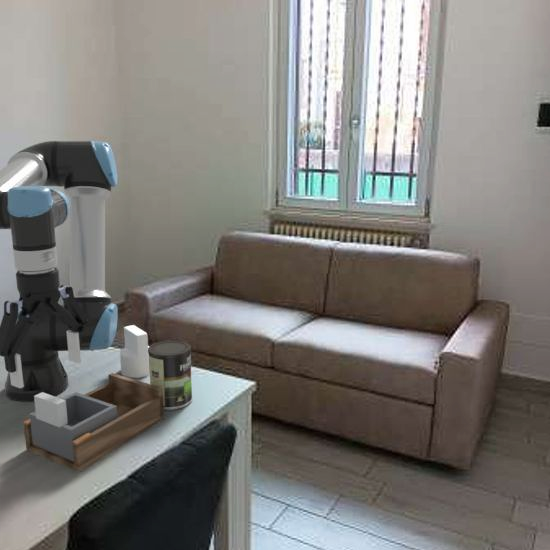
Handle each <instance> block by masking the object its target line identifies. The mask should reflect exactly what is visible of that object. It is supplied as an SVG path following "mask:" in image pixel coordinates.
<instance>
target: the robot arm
mask: <svg viewBox="0 0 550 550" xmlns="http://www.w3.org/2000/svg"><path fill="white" fill-rule="evenodd" d="M117 171H118V170H117V164H116V160H115V156H114V152H113V150H112V147H111V146H110V144H108V142H105V141H95V140H89V141H88V140H86V141H85V140H83V141H82V140H79V141H76V140H75V141H74V140H71V141H69V140H67V141H64V140H62V141H59V140H58V141H57V140H51V141H42V142H39V143H36V144H33V145H30V146H28V147H25V148H23V149H22V150H19V151H18V152H16V153H15V154H13V155H12V156H11V157H10V158H9V159H8V161H7V165H6V166H5V167H3V168H2V169H1V170H0V230H10V232H11V233H10V234H11V241H12V251H13V252H12V253H13V263H14V269H15V270H16V273H15V278H16V287H17V288H16V289H17V292H18V294H19V299H18V300H15V301H10V300H5V301H4V303H3V316H2V320H1V322H0V357H3V360H4V366H5V371H6V372H7V376H6V381H5V384H4V390H5V395H6V396H7V398H8V399H11V400H13V401H20V402H32V401H33V402H35V401H34V396H35V395H37V394H39V393H42V392H43V393H46V394H49V395H52V396H55V397H56V396H57V395H59V394H62V393H63V392H64V391H66V389H67V388H68V387H69V377H68V374H67V372H66V370H65V368H64V365H63V363H62V361H61V359H60V356H59V352H68V360H69V362H72V363H75V364H79V363H81V362H82V358H81V351H90V352H93V351H98V350H99V351H100V350H106V349H108V348H110V347H111V346H112V344H113V342H114V340H115V337H116V333H117V328H118V327H117V325H118V321H119V319H118V318H119V317H118V316H119V315H118V311H119V309H118V305H117V304H116V303H113V302H112V297H111V295H109V294H108V292H106V200H107V198H109V197H110V196H111V194H112V188H114V187H116V186H118V181H119V180H118V179H119V178H118V172H117ZM49 187H59V188H60V187H61V188H64V189H63V191H61V190H57V189H54V188H49ZM67 196H68V197H67ZM68 198H69V199H70V200H69V199H68ZM69 216H70V218H69V219H70V221H69V223H70V224H69V225H70V227H69V228H70V229H69V236H70V237H69V243H70V244H69V252H70V253H69V285H64V284H61V285H60V273H59V269H58V268H57V266H58V265H59V264H58V263H59V262H58V252H57V243H56V241H57V240H56V231H55V230H56V228H57V227H59V226H61V225H62V224H65V221H66V220H67V219H68V217H69ZM60 298H61V299H62V301H63V304H60V303H59V301H60Z"/></svg>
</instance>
